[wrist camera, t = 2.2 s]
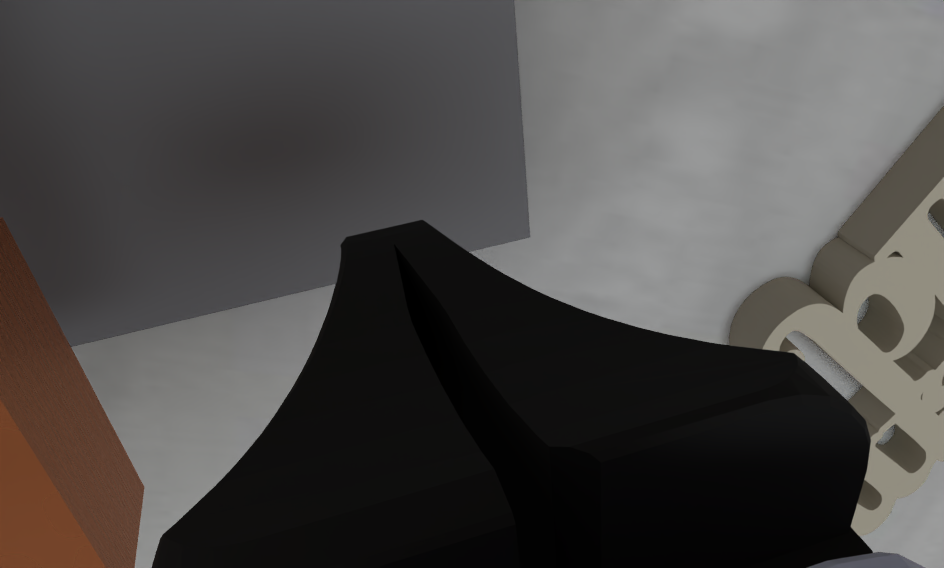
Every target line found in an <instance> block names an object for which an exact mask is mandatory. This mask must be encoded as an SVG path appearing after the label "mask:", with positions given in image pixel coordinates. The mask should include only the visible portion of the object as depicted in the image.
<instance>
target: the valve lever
mask: <svg viewBox="0 0 944 568" xmlns="http://www.w3.org/2000/svg"><path fill="white" fill-rule="evenodd" d="M143 494H144V486H143V484H142V482H141V480H140V478H139V476H138V474H137V472H136V470H135V468H134V467H133V465H132V463H131V461H130V459H129V457H128V455H127V453H126V451H125V449H124V448H123V446H122V444H121V442H120V440H119V438H118V436H117V434H116V432H115V430H114V428H113V427H112V425H111V423H110V421H109V419H108V417H107V415H106V413H105V411H104V409H103V408H102V406H101V404H100V402H99V400H98V398H97V396H96V394H95V392H94V390H93V388H92V387H91V385H90V383H89V381H88V379H87V377H86V375H85V373H84V371H83V369H82V368H81V366H80V364H79V362H78V360H77V358H76V356H75V354H74V352H73V350H72V348H71V347H70V345H69V343H68V341H67V339H66V337H65V335H64V333H63V331H62V329H61V328H60V326H59V324H58V322H57V320H56V318H55V316H54V314H53V312H52V310H51V308H50V307H49V305H48V303H47V301H46V299H45V297H44V295H43V293H42V291H41V289H40V288H39V286H38V284H37V282H36V280H35V278H34V276H33V274H32V272H31V270H30V268H29V267H28V265H27V263H26V261H25V259H24V257H23V255H22V253H21V251H20V249H19V247H18V246H17V244H16V242H15V240H14V238H13V236H12V234H11V232H10V230H9V228H8V227H7V225H6V223H5V221H4V219H3V217H1V218H0V568H134V567H135V558H136V550H137V542H138V534H139V526H140V518H141V510H142V502H143Z"/></svg>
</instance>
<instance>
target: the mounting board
mask: <svg viewBox="0 0 944 568" xmlns="http://www.w3.org/2000/svg"><path fill="white" fill-rule="evenodd" d="M1 217H3V219H4V221H5V223H6V225H7V227H8V228H9V230H10V232H11V234H12V236H13V238H14V240H15V242H16V244H17V246H18V247H19V249H20V251H21V253H22V255H23V257H24V259H25V261H26V263H27V265H28V267H29V268H30V270H31V272H32V274H33V276H34V278H35V280H36V282H37V284H38V286H39V288H40V289H41V291H42V293H43V295H44V297H45V299H46V301H47V303H48V305H49V307H50V308H51V310H52V312H53V314H54V316H55V318H56V320H57V322H58V324H59V326H60V328H61V329H62V331H63V333H64V335H65V337H66V339H67V341H68V343H69V345H70V347H72V346H77V345H81V344H85V343H89V342H93V341H97V340H102V339H106V338H110V337H114V336H118V335H123V334H127V333H131V332H135V331H139V330H144V329H148V328H152V327H156V326H160V325H164V324H169V323H173V322H177V321H181V320H185V319H190V318H194V317H198V316H202V315H206V314H211V313H215V312H219V311H223V310H227V309H232V308H236V307H240V306H244V305H248V304H252V303H257V302H261V301H265V300H269V299H273V298H278V297H282V296H286V295H290V294H294V293H299V292H303V291H307V290H311V289H315V288H319V287H324V286H328V285H332V284H336V282H337V278H338V273H339V268H340V261H341V246H340V245H341V243H342V242H343V241H344V239H345V238H346V237H348V236H353V235H357V234H361V233H366V232H370V231H375V230H379V229H383V228H388V227H392V226H397V225H401V224H405V223H410V222H414V221H419V220H424V221H425V222H427V223H428V224H430V225H431V226H433V227H434V228H435V229H437V230H438V231H440V232H441V233H442V234H444V235H445V236H446V237H448V238H449V239H451V240H452V241H453V242H455V243H456V244H458V245H459V246H461V247H462V248H463V249H465V250H466V251H468V252H470V251H474V250H479V249H483V248H487V247H491V246H495V245H500V244H504V243H508V242H512V241H516V240H521V239H525V238H529V237H530V228H529V213H528V199H527V184H526V169H525V154H524V140H523V125H522V110H521V95H520V80H519V66H518V51H517V36H516V21H515V7H514V0H0V218H1Z"/></svg>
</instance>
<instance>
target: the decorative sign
mask: <svg viewBox="0 0 944 568" xmlns="http://www.w3.org/2000/svg"><path fill="white" fill-rule="evenodd" d="M928 211H929V212H930V214H931V215H932V216H933V218H934V219H935V220H936V221H937V223H938V224H939V225H940V227H941V228H942V229H943V230H944V106H943V107H942V109H941V110H940V111H939V112H938V113H937V114H936V116H935V117H934V118H933V119H932V120H931V122H930V123H929V124H928V125H927V126H926V128H925V129H924V130H923V131H922V132H921V134H920V135H919V136H918V137H917V138H916V139H915V141H914V142H913V143H912V144H911V145H910V147H909V148H908V149H907V150H906V151H905V153H904V154H903V155H902V156H901V157H900V158H899V160H898V161H897V162H896V163H895V164H894V166H893V167H892V168H891V169H890V170H889V172H888V173H887V174H886V175H885V176H884V178H883V179H882V180H881V181H880V182H879V183H878V185H877V186H876V187H875V188H874V189H873V191H872V192H871V193H870V194H869V195H868V197H867V198H866V199H865V200H864V201H863V203H862V204H861V205H860V206H859V207H858V208H857V210H856V211H855V212H854V213H853V214H852V216H851V217H850V218H849V219H848V220H847V222H846V223H845V224H844V225H843V226H842V227H841V229H840V230H839V231H838V237H837V238H835V239H833V240H832V241H830V242H829V243H827V244H826V245H825V246H824V247H823V248H822V249H821V250H820V251H819V253H818V254H817V256H816V258H815V261H814V263H813V266H812V270H811V275H810V283H809V286H808V285H806V284H805V283H804V282H802V281H800V280H798V279H795V278H791V277H780V278H776V279H773V280H771V281H769V282H767V283H765V284H764V285H762V286H760V287H759V288H758V289H757V290H755V291H754V292H753V293H752V294H751V295H750V296H749V297H748V298H747V299H746V300H745V301H744V302H743V304H742V305H741V306H740V308H739V309H738V311H737V313H736V315H735V317H734V319H733V322H732V325H731V329H730V335H729V343H730V346H739V347H748V348H756V349H765V350H774V351H782V352H791V353H795V354H796V355H797V356H798V357H799V358H801V359H802V360H803V361H805V356H804V354H803V353H802V352H801V351H800V350H799V349H798V348H797V347H796V346H794V345H793V344H792V343H791V342H790V341H789V340H788V339H787V338H786V336H787V335H788V334H789V333H790V332H792V331H799V332H801V333H803V334H804V335H806V336H807V337H809V338H810V339H811V340H812V341H813V342H814V343H815V344H817V345H818V346H819V347H820V348H821V349H822V350H823V351H824V352H826V353H827V354H828V355H829V356H830V357H831V358H832V359H833V360H835V361H836V362H837V363H838V364H839V365H840V366H841V367H843V368H844V369H845V370H846V371H847V372H848V373H849V374H851V375H852V376H853V377H854V378H855V379H856V380H857V381H859V382H860V383H861V384H862V385H863V387H862V388H861V389H860V390H859V391H858V392H857V393H856V394H855V395H854V396H853V397H851V398H850V399H849V401H848V402H849V403H850V404H851V405H852V406H853V407H854V408H855V409H856V410H857V411H858V412H859V414H860V415H861V416H862V417H863V418H864V419H865V420H866V423H867V427H868V431H869V435H870V439H871V444H870V452H869V460H868V467H867V472H866V475H865V479H864V482H863V486H862V489H861V493H860V496H859V500H858V503H857V506H856V510H855V513H854V517H853V520H852V524H851V528H852V529H853V530H854V531H855V532H856V533H857V534H858V535H859V536H863V535H866V534H869V533H871V532H872V531H874V530H875V529H877V528H878V527H879V526H880V525H881V524H882V523H883V522H884V521H885V520H886V519H887V517H888V516H889V514H890V513H891V511H892V508H893V506H894V504H895V501H896V499H897V498H903V497H906V496H908V495H910V494H912V493H913V492H915V491H916V490H917V489H919V488H920V487H921V486H922V485H923V483H924V482H925V481H926V479H927V477H928V475H929V473H930V471H931V469H932V467H933V465H934V463H935V462H936V460H938V461H944V238H943V237H942V235H941V234H940V233H939V232H938V231H937V229H936V228H935V227H934V226H933V225H932V223H931V222H930V221H929V219H928ZM867 298H868V299H869V307H868V310H867V313H866V315H865V316H864V318H863V319H862V320H861V322H860V323H858V324H857V314H858V311H859V308H860V306H861V305H862V303H863V302H864V301H865V300H866V299H867ZM894 424H895V433H894V435H893V437H892V438H891V439H890V440H889V441H888V442H887V443H885V444H884V445H880V444H877V442H878V441H879V440H880V439H881V438H882V437H883V433H884V432H886V431H887V430H888V429H889V428H890V427H891V426H892V425H894Z"/></svg>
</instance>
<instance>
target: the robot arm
mask: <svg viewBox="0 0 944 568" xmlns="http://www.w3.org/2000/svg"><path fill="white" fill-rule="evenodd" d="M340 246H341V261H340V268H339V273H338V278H337V282H336V286H335V289H334V293H333V296H332V300H331V303H330V307H329V310H328V313H327V315H326V318H325V320H324V323H323V325H322V328H321V330H320V333H319V336H318V338H317V341H316V343H315V345H314V347H313V350H312V352H311V354H310V356H309V358H308V360H307V362H306V364H305V366H304V368H303V370H302V372H301V373H300V375H299V377H298V379H297V381H296V382H295V384H294V386H293V388H292V389H291V391H290V392H289V394H288V395H287V397H286V399H285V400H284V402H283V403H282V405H281V406H280V408H279V409H278V411H277V413H276V414H275V416H274V417H273V418H272V420H271V421H270V423H269V424H268V425H267V427H266V428H265V430H264V431H263V432H262V434H261V435H260V436H259V437H258V439H257V440H256V441H255V442H254V443H253V445H252V446H251V447H250V448H249V449H248V451H247V452H246V453H245V454H244V455H243V457H242V458H241V459H240V460H239V461H238V462H237V464H236V465H235V466H234V467H233V468H232V469H231V470H230V471H229V472H228V473H227V474H226V475H225V477H224V478H223V479H222V480H221V481H220V482H219V483H218V484H217V485H216V486H215V487H214V488H213V489H212V490H210V491H209V492H208V493H207V494H206V495H205V496H204V497H203V498H202V499H201V500H200V501H199V502H198V503H197V504H196V505H195V506H194V507H193V508H192V509H190V510H189V511H188V512H187V513H186V514H185V515H184V516H183V517H182V518H181V519H180V520H179V521H178V522H177V523H176V524H175V525H173V526H172V527H171V528H170V529H169V530H168V531H166V532H165V533H164V534H163V535H162V537H161V538H160V542H159V545H158V548H157V551H156V554H155V558H154V561H153V565H152V568H925V567H923V566H921V565H919V564H917V563H915V562H913V561H911V560H909V559H907V558H905V557H903V556H901V555H899V554H894V553H883V552H876V553H873V552H872V550H871V549H870V548H869V547H868V546H867V544H866V543H865V542H864V541H863V540H862V539H861V538H860V537H859V535H858V534H857V533H856V532H855V531H854V530H853V529H852V528H851V524H852V520H853V517H854V513H855V510H856V506H857V503H858V500H859V496H860V493H861V489H862V486H863V482H864V479H865V475H866V472H867V467H868V460H869V452H870V444H871V439H870V435H869V431H868V427H867V423H866V420H865V419H864V418H863V417H862V416H861V415H860V414H859V412H858V411H857V410H856V409H855V408H854V407H853V406H852V405H851V404H850V403H849V402H848V401H847V400H846V399H845V398H844V397H843V396H842V395H841V394H840V393H839V392H838V391H836V390H835V389H834V388H833V387H832V386H831V385H830V384H829V383H828V382H827V381H826V380H825V379H824V378H823V377H822V376H820V375H819V374H818V373H817V372H816V371H815V370H814V369H812V368H811V367H810V366H809V365H808V364H807V363H806V362H804V361H803V360H802V359H801V358H799V357H798V356H797V355H796V354H795V353H791V352H782V351H774V350H765V349H756V348H748V347H739V346H730V345H722V344H715V343H709V342H703V341H698V340H693V339H688V338H683V337H677V336H672V335H667V334H663V333H659V332H655V331H650V330H646V329H642V328H638V327H635V326H631V325H628V324H625V323H621V322H618V321H614V320H611V319H607V318H604V317H601V316H598V315H595V314H592V313H589V312H586V311H584V310H581V309H578V308H576V307H573V306H571V305H568V304H566V303H563V302H561V301H558V300H556V299H553V298H551V297H549V296H546V295H544V294H542V293H540V292H538V291H536V290H534V289H532V288H530V287H528V286H526V285H524V284H522V283H520V282H518V281H516V280H514V279H512V278H510V277H509V276H507V275H505V274H503V273H501V272H500V271H498V270H496V269H494V268H493V267H491V266H490V265H488V264H486V263H485V262H483V261H482V260H480V259H478V258H477V257H475V256H474V255H472V254H471V253H469V252H468V251H466V250H465V249H463V248H462V247H461V246H459V245H458V244H456V243H455V242H453V241H452V240H451V239H449V238H448V237H446V236H445V235H444V234H442V233H441V232H440V231H438V230H437V229H435V228H434V227H433V226H431V225H430V224H428V223H427V222H425V221H424V220H419V221H414V222H410V223H405V224H401V225H397V226H392V227H388V228H383V229H379V230H375V231H370V232H366V233H361V234H357V235H353V236H348V237H346V238H345V239H344V241H343V242H342V243H341V245H340Z"/></svg>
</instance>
